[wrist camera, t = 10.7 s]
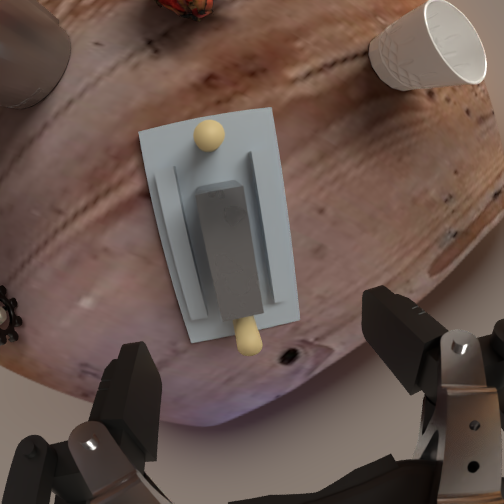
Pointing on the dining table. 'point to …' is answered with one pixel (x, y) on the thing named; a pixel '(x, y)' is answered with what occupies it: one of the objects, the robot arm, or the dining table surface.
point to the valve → (14, 320)
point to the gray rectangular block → (230, 248)
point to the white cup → (429, 49)
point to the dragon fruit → (188, 7)
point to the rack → (189, 227)
